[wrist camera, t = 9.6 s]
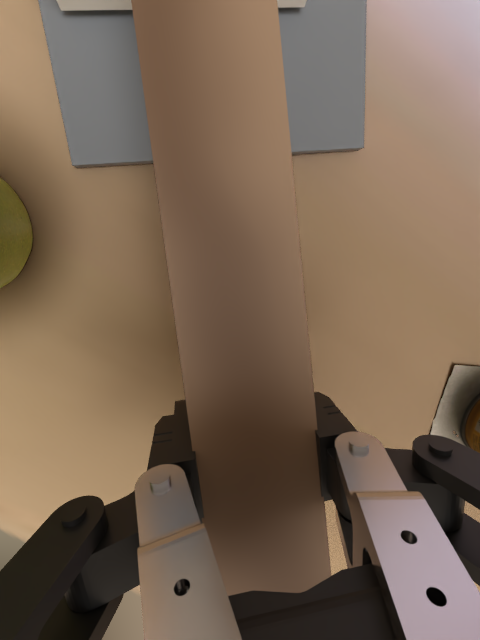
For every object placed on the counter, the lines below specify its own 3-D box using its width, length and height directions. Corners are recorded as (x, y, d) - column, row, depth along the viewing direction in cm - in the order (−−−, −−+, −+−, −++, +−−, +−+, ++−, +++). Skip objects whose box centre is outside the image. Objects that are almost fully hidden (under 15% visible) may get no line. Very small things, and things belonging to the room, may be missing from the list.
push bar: (234, -14, 13) (257, -210, 8) (293, 548, 15) (340, 672, 10) (140, -14, 12) (101, -220, 7) (217, 564, 15) (226, 703, 10)
